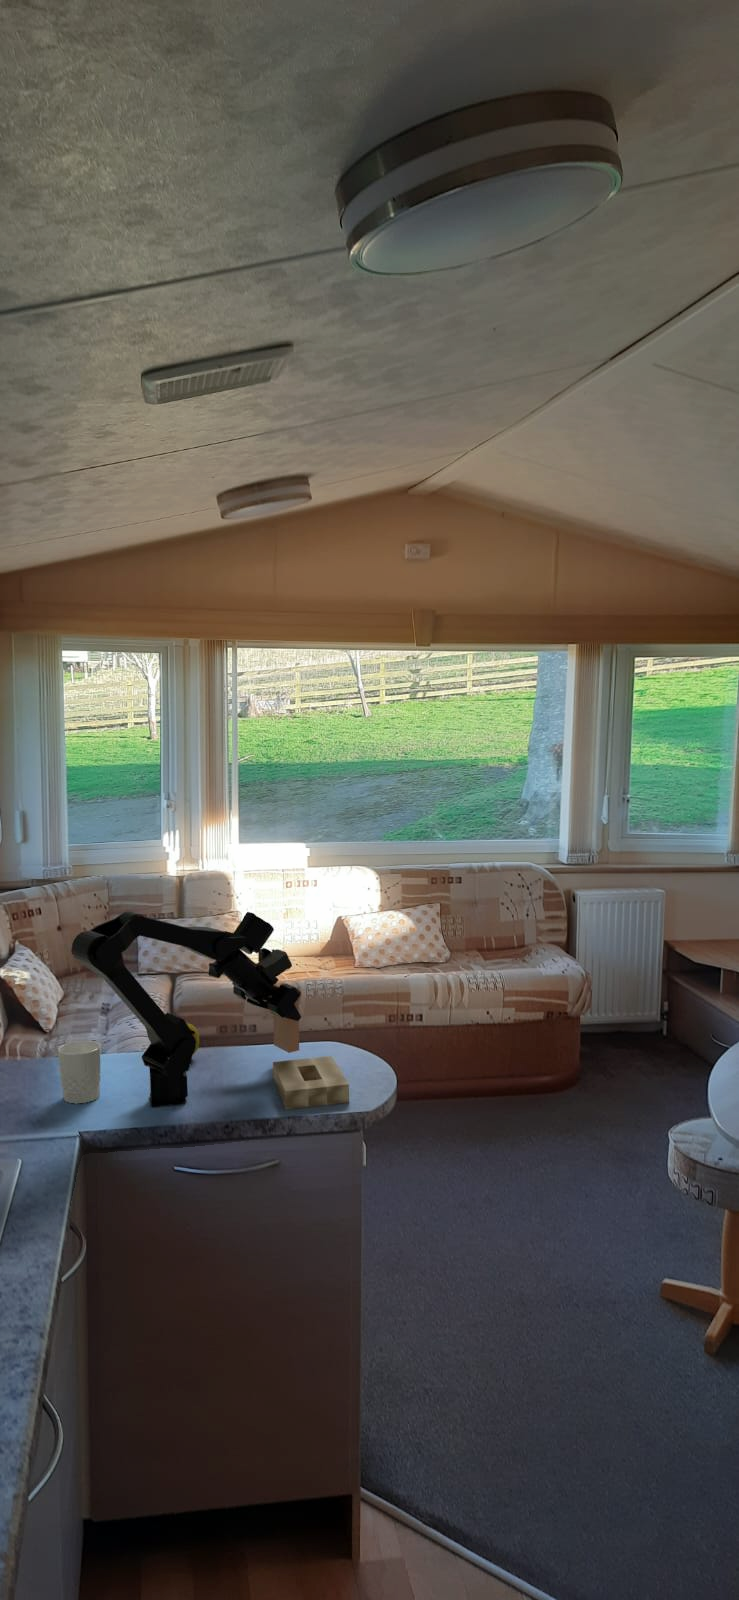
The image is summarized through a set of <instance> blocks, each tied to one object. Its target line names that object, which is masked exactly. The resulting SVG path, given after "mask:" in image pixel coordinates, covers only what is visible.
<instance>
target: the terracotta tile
mask: <svg viewBox="0 0 739 1600" xmlns="http://www.w3.org/2000/svg"><path fill="white" fill-rule="evenodd" d="M281 984H287V983H286V982H283V981H282V982H277V983H276V984H274V985H273V986H275V987H278V988H279V986H280V985H281ZM296 988H297V989H298V990H299V988H298V987H296ZM295 1006H296V1008H297V1010H298V1011H299V999H298V1000H297V1001H296V1002H295ZM272 1018H273V1019H272V1020H273V1021H272V1022H273V1024H272V1025H273V1046H275V1047H277V1048H279V1049H281V1050H283V1051H284V1052H287V1053H288V1054H289V1053H294V1052H298V1051H300V1026H299V1025H300V1023H299V1021H300V1020H299V1021H296V1020H292V1019H288V1018H284V1017H283V1018H281V1017H279V1016H276V1015H274V1014H272Z"/></svg>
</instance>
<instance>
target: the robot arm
mask: <svg viewBox="0 0 739 1600" xmlns="http://www.w3.org/2000/svg"><path fill="white" fill-rule="evenodd" d="M233 931H234V932H231V931H227V930H225V931H223V930H219V929H216V928H214V927H213V928H212V927H208V926H194V925H193V926H182V925H180V924H179V925H178V924H174V923H172V922H166V921H163V920H159V919H155V918H152V917H148V916H144V915H143V914H141V913H138V912H137V913H136V912H133V911H129V910H127V911H124V912H122V913H121V914H119V915H117V916H116V917H115V918H113V919H110V920H108V921H106V922H105V921H104V922H103V923H101V924H98V925H96V926H94V927H92V928H91V929H90V930H84V931H81V932H80V933H78V934H77V935H76V936H75V938H74V939H73V942H72V944H71V945H72V946H71V949H70V950H71V954H72V956H73V957H74V959H76V960H77V961H78V962H79V963H80V964H82V965H83V966H84V967H85V968H87V969H88V970H90V971H91V972H93V973H94V974H96V975H98V976H99V977H100V978H102V979H103V980H104V981H105V983H106V984H107V985H108V986H109V987H110V988H111V989H112V990H113V992H115V994H116V996H117V997H119V999H121V1001H122V1002H123V1003H124V1005H126V1007H127V1008H128V1010H130V1012H131V1013H133V1015H134V1016H135V1017H136V1019H138V1020H139V1022H140V1023H141V1024H142V1025H143V1027H144V1028H145V1030H146V1034H147V1037H148V1040H149V1043H150V1044H149V1046H148V1047H147V1048H146V1050H145V1051H144V1052H143V1054H142V1055H141V1060H142V1062H143V1065H144V1066H145V1067H148V1068H149V1087H150V1093H149V1099H150V1101H149V1102H150V1107H151V1108H156V1107H167V1106H175V1105H183V1104H184V1105H185V1104H187V1100H186V1099H187V1097H188V1096H189V1093H188V1090H189V1089H188V1074H187V1072H188V1071H189V1070H190V1066H191V1062H192V1059H193V1056H194V1054H195V1053H194V1051H195V1048H196V1043H197V1042H196V1039H195V1037H194V1036H193V1035H192V1034H195V1032H194V1031H192V1030H191V1029H190V1028H189V1027H188V1025H187V1023H188V1022H187V1023H186V1020H185V1019H184V1018H183V1017H179V1016H177V1015H175V1014H172V1013H169V1012H166V1013H165V1012H164V1011H163V1010H162V1008H160V1006H159V1005H158V1004H157V1003H156V1002H155V1000H154V999H153V998H152V997H151V996H150V995H149V993H148V992H147V991H146V990H145V988H144V987H143V986H142V985H141V983H140V982H139V981H138V980H137V979H136V978H135V976H133V974H132V973H131V972H130V971H129V970H128V967H126V964H125V960H124V955H123V952H125V951H126V950H127V949H129V947H130V946H131V945H132V944H133V942H134V941H135V940H136V939H137V938H139V937H144V938H149V939H152V940H156V941H160V942H164V943H168V944H173V945H177V946H181V947H183V948H184V949H186V950H188V951H190V952H191V953H194V954H196V955H199V956H200V957H204V958H208V959H210V960H214V962H209V963H208V966H209V967H208V976H209V977H212V978H216V979H221V976H223V975H224V976H225V977H226V978H227V979H229V980H230V981H231V982H232V983H231V985H233V988H232V990H233V994H234V995H235V996H236V997H237V998H239V999H241V1000H242V1001H246V1002H247V1003H249V1004H250V1005H253V1006H256V1007H259V1008H262V1009H265V1010H267V1011H268V1010H269V1011H270V1014H272V1015H273V1014H274V1015H276V1016H279V1017H281V1018H283V1017H284V1018H288V1019H292V1020H296V1021H300V1019H302V1016H301V1014H300V1011H299V1009H298V1010H297V1008H296V1006H295V1002H296V1001H297V1000H298V1001H299V998H300V997H301V994H302V993H301V991H300V990H299V988H298V987H296V986H294V985H290V984H289V983H286V984H281V985H280V986H279V988H278V987H275V986H273V985H274V984H276V983H278V981H279V978H278V976H280V975H281V974H282V973H285V971H287V970H290V969H291V968H292V966H293V964H292V961H291V960H290V958H289V957H290V956H289V955H288V953H287V952H286V951H284V950H281V949H277V948H276V949H274V948H273V949H271V950H270V949H268V948H265V947H264V946H265V944H266V943H267V941H268V939H269V938H270V937H271V936H272V934H273V932H274V931H275V929H274V927H273V925H272V924H271V923H269V922H268V921H266V920H264V919H262V918H261V917H259V916H257V915H256V914H255V913H254V912H250V911H247V912H246V913H245V914H244V916H243V918H242V920H241V921H240V923H239V924H238V926H237V927H236V929H235V930H233ZM253 953H255V954H258V959H257V961H258V962H257V963H256V962H255V961H253V960H252V959H251V958H250V957H249V956H248V955H252V954H253ZM247 954H248V955H247ZM297 988H298V989H297ZM193 1053H194V1054H193Z"/></svg>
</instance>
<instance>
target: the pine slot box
mask: <svg viewBox="0 0 739 1600" xmlns="http://www.w3.org/2000/svg"><path fill="white" fill-rule="evenodd" d="M272 1075H273V1076H272V1080H273V1079H274V1080H273V1082H274V1085H275V1086H277V1087H276V1089H277V1092H278V1091H279V1092H278V1094H279V1097H280V1099H281V1102H282V1103H283V1106H284V1109H285V1110H294V1109H302V1108H312V1107H321V1106H328V1105H329V1106H330V1105H337V1104H347V1103H350V1084H349V1082H348V1081H347V1079H346V1078H345V1076H344V1074H343V1072H342V1070H341V1069H340V1068H339V1065H338V1064H337V1063H336V1061H335V1059H334V1058H333V1056H332V1055H331V1056H329V1055H328V1056H319V1057H310V1058H300V1059H298V1058H297V1059H291V1060H289V1059H288V1060H281V1061H280V1060H279V1061H273V1062H272Z"/></svg>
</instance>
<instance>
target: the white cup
mask: <svg viewBox="0 0 739 1600" xmlns="http://www.w3.org/2000/svg"><path fill="white" fill-rule="evenodd" d="M101 1046H102V1045H101V1043H99V1042H97V1041H94V1040H77V1041H76V1040H75V1041H71V1042H67V1043H65V1044H62V1045H61V1046H58V1048H57V1055H58V1063H59V1064H58V1065H59V1074H60V1082H61V1087H62V1096H63V1100H65V1101H67V1102H69V1103H68V1104H70V1103H84V1104H87V1103H86V1102H88V1103H90V1101H92V1102H94V1101H95V1099H96V1100H98V1098H99V1097H100V1096H101V1091H100V1090H101V1087H100V1086H101V1085H100V1083H101V1073H102V1072H101V1069H102V1068H101V1064H102V1061H101V1054H102V1053H101V1048H102V1047H101ZM93 1100H94V1101H93ZM65 1101H64V1102H65ZM67 1102H66V1103H67Z"/></svg>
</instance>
